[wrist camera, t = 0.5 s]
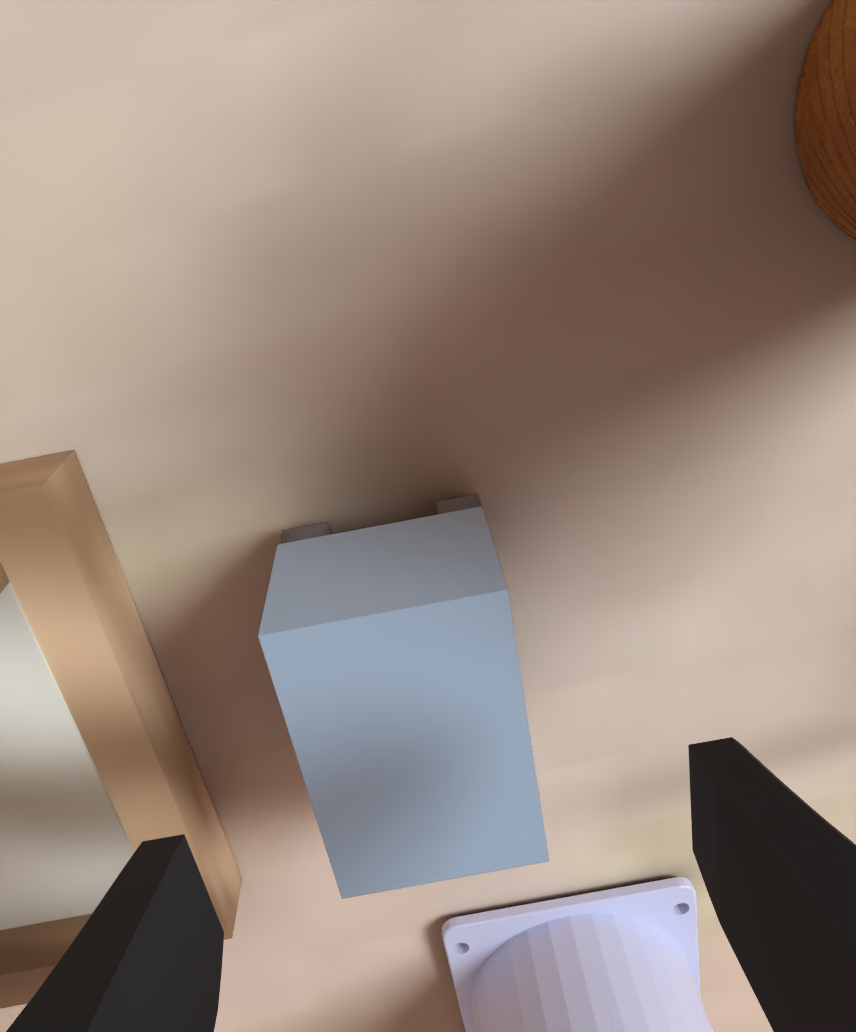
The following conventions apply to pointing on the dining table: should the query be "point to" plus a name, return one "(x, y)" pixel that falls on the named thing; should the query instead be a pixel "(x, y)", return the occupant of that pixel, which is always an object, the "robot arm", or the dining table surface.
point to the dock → (81, 729)
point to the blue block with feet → (405, 698)
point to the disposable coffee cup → (830, 115)
